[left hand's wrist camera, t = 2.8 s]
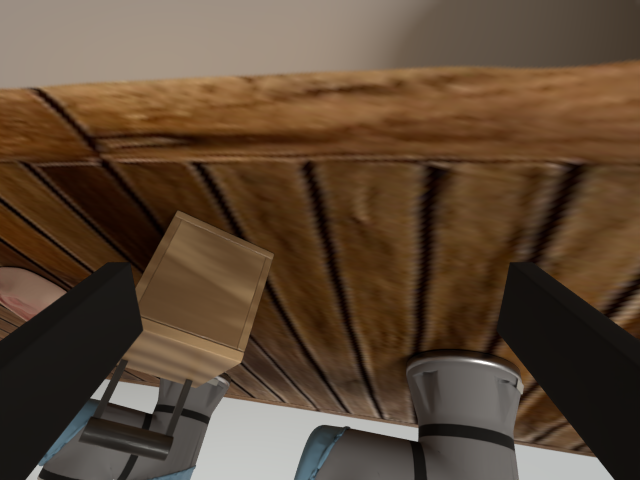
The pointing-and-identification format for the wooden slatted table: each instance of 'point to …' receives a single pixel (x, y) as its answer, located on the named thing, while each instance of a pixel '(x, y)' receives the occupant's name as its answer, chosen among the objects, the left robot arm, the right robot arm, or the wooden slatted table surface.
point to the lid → (165, 362)
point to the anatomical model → (26, 292)
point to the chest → (204, 282)
